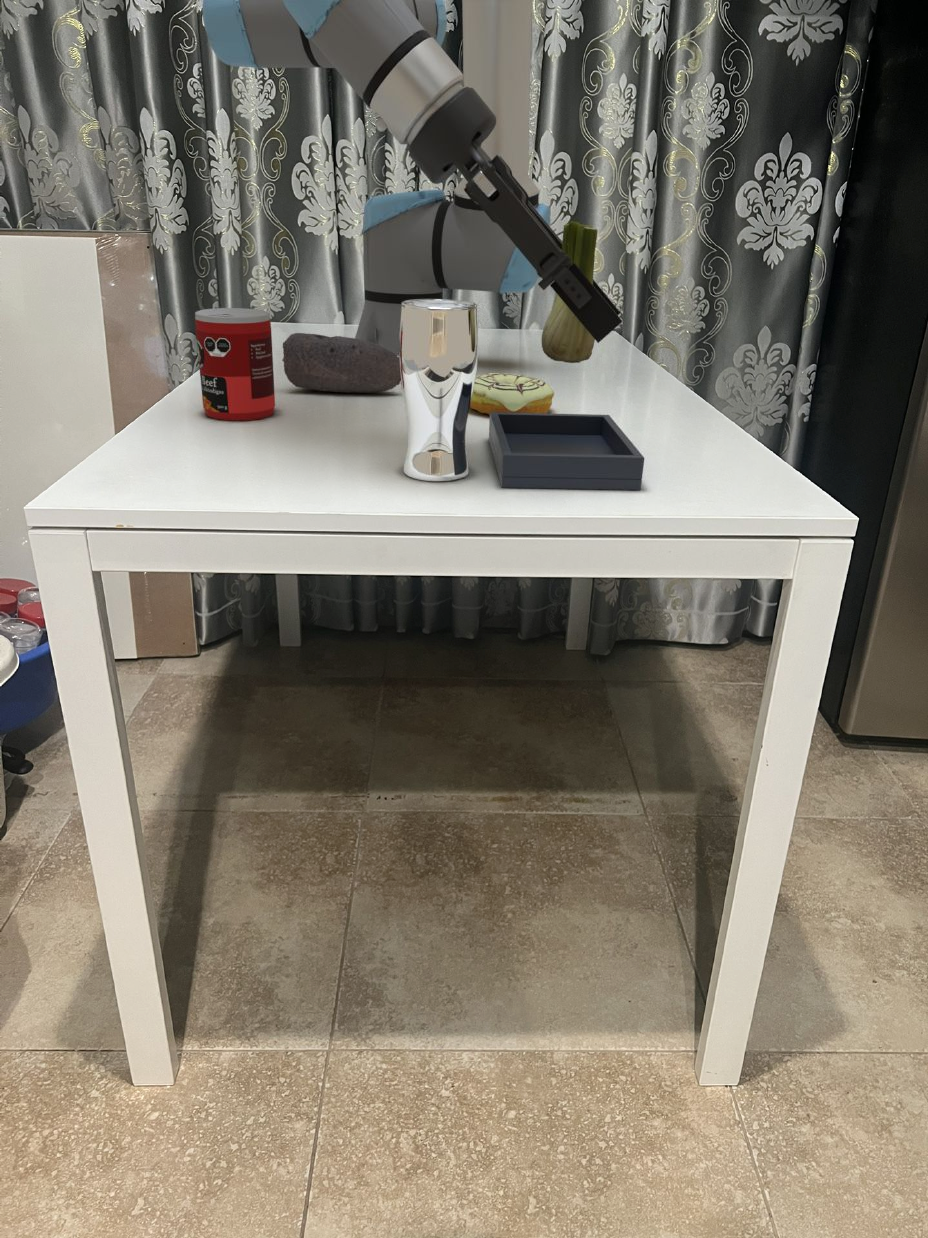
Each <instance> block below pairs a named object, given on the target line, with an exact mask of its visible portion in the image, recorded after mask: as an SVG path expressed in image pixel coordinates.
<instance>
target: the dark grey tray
mask: <svg viewBox="0 0 928 1238" xmlns="http://www.w3.org/2000/svg"><path fill="white" fill-rule="evenodd" d="M488 443H489V446H490V450H491V454H492V458H493V461H494V465H495V468H496V472H497V475H498V479H499V483H500V487H501V488H503V489H505V488H508V489H555V490H556V489H557V490H558V489H559V490H560V489H561V490H562V489H563V490H613V491H614V490H618V491H619V490H620V491H641V490H642V482H643V474H644V467H645V466H644V465H645V457H644V455H643V454H642V453H641V452H640V451H639V449H638V448H637V447H636V445H635V444H634V443H633V442H632V441H631V440H630V438H628V436H627V435H626V433H625V432H624V431H623V430H622V429H621V428H620V426H619V425H618V424H617V423H616V422H615V420H614V419H613V418H612V417H611V415H610V414H590V413H589V414H588V413H587V414H586V413H585V414H584V413H548V412H547V413H503V412H490V415H489V424H488Z"/></svg>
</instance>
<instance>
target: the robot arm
mask: <svg viewBox="0 0 928 1238" xmlns="http://www.w3.org/2000/svg"><path fill="white" fill-rule="evenodd" d="M461 2H462V3H461V5H462V9H461V10H462V65H463V66H462V69H463V71H461V70H460V69H459V68H458V66H457V64H455V63H454V61H453V60H452V59H451V58H450V56H449V55H448V54H447V53H446V52H445V50H444V49H443V47H442V45H443V43H444V40H445V37H446V33H447V24H448V17H447V10H446V5H445V3H444V0H202V4H201V5H202V6H201V7H202V10H201V11H202V20H203V26H204V30H205V33H206V36H207V39H208V43H209V45H210V47H211V49H212V51H213V53H214V54H215V56H216V57H217V58H218V60H220V61H221V62H222V63H224V64H225V65H227V66H230V67H243V68H253V69H254V70H256V71H257V70H261V69H291V68H292V69H299V68H300V69H302V68H305V69H307V68H310V69H311V68H324V69H335V70H336V71H337V72H338V73H339V74H340V76H342V78H343V79H344V80H345V81H346V83H348V85H349V86H350V87H351V88H352V89H353V90H354V92H355V93H356V94H357V95H358V97H360V99H361V100H362V101H363V102H364V104H365V105H366V106H367V107H368V108H369V110H371V112H372V113H373V114H375V115H378V116H379V118H378V119H376V121H375V123H374V124H375V127H376V130H378V131H379V132H384V131H385V130H388V131H389V133H390V134H391V135H392V136H393V138H394V139H395V140H396V141H397V142H398V144H399V145H409V147H408V156H409V158H410V159H411V160H412V161H413V162H414V163H415V165H416V166H417V167H418V169H420V171H421V172H422V173H423V174H424V176H426V178H427V179H428V180H429V181H430V182H431V183H432V184H434V185H438V184H441V183H443V182H445V181H446V180H448V179H449V178H450V177H451V176H452V175H454V174H455V173H456V171H457V170H458V172H459V173H460V174H461V175H462V177H463V178H462V180H460V182H459V183H458V184H457V185H456V187H454V189H453V200H450V201H449V200H447V195H446V192H445V190H443V189H427V190H418V191H417V190H415V191H404V192H395V193H387V194H381V195H375V196H373V197H370V198H369V199H368V200H367V201H366V202H365V204H364V208H363V227H362V230H361V235H362V245H363V246H362V247H363V249H362V251H363V253H362V255H363V285H364V286H363V290H364V292H363V293H364V295H363V296H364V300H363V302H364V303H363V309H362V312H361V316H360V320H359V322H358V326H357V329H356V332H355V336H354V338H355V339H360V340H364V341H368V342H371V343H374V344H377V345H380V346H382V347H384V348H386V349H388V350H390V351H391V352H393V353H394V354H395V355H397V356H398V357H399V334H400V321H401V308H402V304H401V303H402V302H403V301H406V300H414V299H444V296H443V294H444V290H445V289H446V290H460V291H463V290H464V291H476V292H490V293H491V292H492V293H499V294H501V295H504V294H505V293H513V294H515V293H516V294H517V293H520V294H521V293H523V294H524V293H526V292H530V291H531V290H532V289H533V288H534V287H535V286H536V284H537V285H538V286H539V287H540V288H541V290H543V291H546V289H547V288H548V287H551V289H552V290H553V291H554V292H555V294H556V293H557V294H558V296H559V297H560V298H561V299H562V300H563V302H564V303H565V304H566V305H567V306H568V308H569V309H570V310H571V311H572V312H573V314H574V315H575V316H576V317H577V318H578V320H579V321H580V322H581V323H582V324H583V326H584V327H585V328H586V329H587V330H588V332H589V333H590V334H591V335H592V336H593V338H594V339H595V342H596V343H597V344H599V343H600V342H602V341H603V339H604V338H606V337H607V336H608V335H609V334H611V333H612V332H613V331H614V330H615V329H616V328H617V327H619V325H621V324H622V323H623V320H622V318H621V317H620V316H619V315H620V314H621V311H620V310H619V309H618V308H617V306H616V305H615V304H614V302H612V300H611V299H610V298H609V296H608V295H607V294H606V293H605V292H604V291H603V289H602V288H601V286H600V285H599V284H598V283H597V282H596V281H595V279H593V285H592V283H591V282H590V281H589V280H588V278H587V277H586V276H585V275H584V274H583V272H582V271H581V270H580V269H579V267H578V266H577V265H576V264H575V263H573V264H572V263H571V260H570V258H569V256H568V255H565V253H564V252H563V251H562V241H563V240H562V239H561V238H560V236H559V235H558V234H556V232H555V230H553V228H552V227H551V221H552V220H551V209H550V206H548V205H547V204H545V203H542V202H541V203H540V200H539V199H540V198H539V197H540V190H539V189H540V187H538V185H537V184H536V183H535V182H534V181H533V180H532V178H530V175H529V150H530V148H529V147H530V145H529V144H530V110H531V109H530V102H531V64H532V57H531V56H532V21H533V20H532V18H533V17H532V16H533V0H461ZM571 264H572V265H571ZM570 265H571V266H570ZM569 266H570V267H569ZM568 267H569V268H568ZM539 278H540V279H541V280H540V281H539V282H538V280H539Z"/></svg>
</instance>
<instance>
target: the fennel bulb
mask: <svg viewBox="0 0 928 1238" xmlns="http://www.w3.org/2000/svg"><path fill="white" fill-rule="evenodd" d="M597 240H598V229H597V228H593V226H591V225H585V224H580V222H577V221H569V223H565V224H564V225H563V232H562V240H561V241H562V251H563V252H564V253H565V255H568V256H569V258H570V260H571V263H572V264H573V263H575V264H576V265H577V266H578V267H579V269H580V270H581V271H582V272H583V274H584V275H585V276H586V277H587V278H588V280H589V281H590V282H591V283H592V285H593V280H594V272H595V260H596V259H595V255H596V247H597ZM572 264H571V265H572ZM571 265H570V266H571ZM570 266H569V267H570ZM569 267H568V268H569ZM595 342H596V340H595V339H594V338H593V336H592V335H591V334H590V333H589V332H588V330H587V329H586V328H585V327H584V326H583V324H582V323H581V322H580V321H579V320H578V318H577V317H576V316H575V315H574V314H573V312H572V311H571V310H570V309H569V308H568V306H567V305H566V304H565V303H564V302H563V300H562V299H561V298H560V297H559V296H558V294H557V293H556V292H555V296H554V300H553V303H552V307H551V311H550V312H549V314H548V316H547V319H546V320H545V323H544V327H543V329H542V333H541V348H542V351H543V353H544V355H546V357H547V358H549V359H550V360H553V361H556V362H563V363H568V364H579V363H581V362H584V361H588V360H590V358H591V357H592V354H593V349H594V347H595Z"/></svg>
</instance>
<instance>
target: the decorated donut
mask: <svg viewBox="0 0 928 1238" xmlns="http://www.w3.org/2000/svg"><path fill="white" fill-rule="evenodd" d="M554 397H555V390H554V389H553V387H552V386H551V385H550V384H548V383H547V382H545V381H544V380H542V379H540V378H539V379H538V378H537V377H536V378H535V377H531V376H529V375H523V374H516V373H505V372H496V373H495V372H487V373H483V374H479V375H476V378H475V384H474V389H473V394H472V399H471V404H470V409H471V410H476V411H477V412H478V413H480V414H487V415H489V416H490V412H503V413H548V412H549V410H550V408H551V407H552V404H553V398H554Z"/></svg>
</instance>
